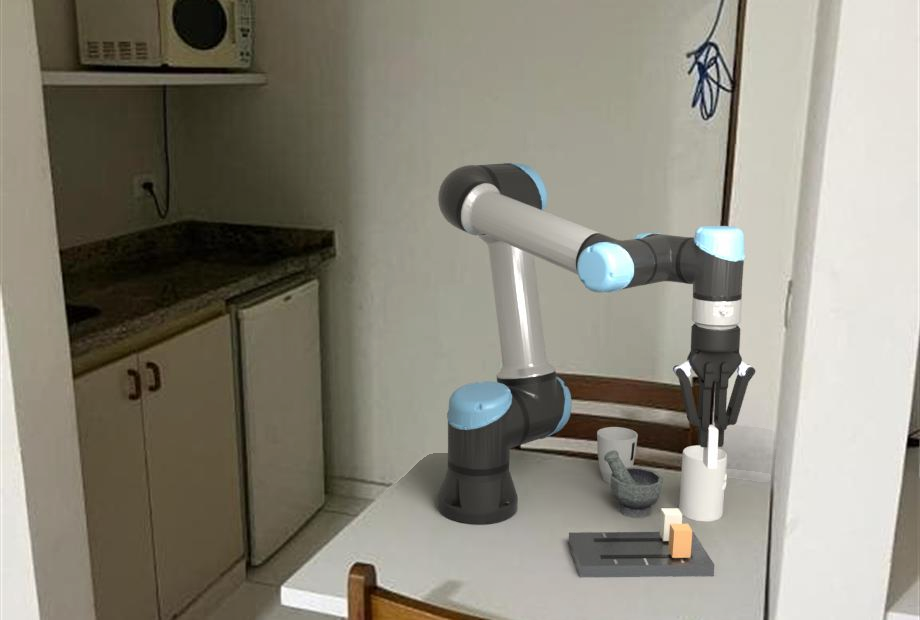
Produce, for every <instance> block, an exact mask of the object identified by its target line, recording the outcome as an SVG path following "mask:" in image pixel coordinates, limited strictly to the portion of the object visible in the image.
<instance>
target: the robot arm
mask: <svg viewBox="0 0 920 620" xmlns="http://www.w3.org/2000/svg"><path fill="white" fill-rule="evenodd" d="M437 198H438V199H437V200H438V201H437V202H438V206H439V207H438V208H439V209H440V212H441V214H442V216H443V218H444V220H446V221H447V222H448V223H449V224H450V225H451V226H453V227H454V228H457V229H459V230H460V231H462V232H465V233H468V234H469V235H472V236H478V238H479V239H481V240H482V241H483V242H485V244H486V245H487V247H488V255H489V261H490V262H489V263H490V271H491V278H492V280H491V281H492V289H493V295H494V303H495V311H496V318H497V327H498V334H499V335H498V336H499V342H500V344H499V345H500V351H501V359H502V361H501V362H502V367H501V368H500V370H499V371H498V372H497V374H496V381H486V380H485V381H482V382H478V381H475V382H472V383H467V384H464V385H462V386H460V387H459V388H457V389H455V390H454V391H453V392H452V393H451V395H450V397H449V400H448V410H447V415H446V417H447V470H446V473H445V476H444V479H443V481H442V484H441V487H440V489H439V492H438V496H437V497H438V499H437V505H438V507H437V509H438V511H439V512H440V513H441V515H443V516H444V517H446V518H448V519H450V520H452V521H455V522H459V523H465V524H471V525H485V524H486V525H487V524H494V523H496V524H497V523H499V522H503V521H506V520H508V519H510V518H512V517H513V516H515V514H516V513H517V512H518V508H519V507H518V506H519V503H518V501H519V498H518V493H517V490H516V486H515V482H514V481H513V477H512V474H511V471H510V455H511V453H510V452H511V449H512V448H515V447H518V446H521V445H522V446H523V445H525V444H528V443H531V442H533V441H537V440H544V439H546V438H549V437H550V436H551V435H554V434H556V433H558V432H560V431H561V430H562V429H564V427H565V426H566V425H567V423H568V421H569V419H570V417H571V414H572V406H573V405H572V404H573V403H572V396H571V392H570V389H569V387H568V386H565V382H564V380H562V378H560V377H559V376H557V373H556V372H557V371H556V367H554V366H553V365H552V364H550V363H549V362H548V361H547V356H546V353H547V352H546V347H545V346H546V345H545V338H544V330H543V319H542V314H541V306H540V305H541V304H540V295H539V287H538V281H537V272H536V271H537V269H536V262H535V257H536V258H539V259H542V260H544V261H545V262H548V263H551V264H552V265H555V266H557V267H560V268H562V269H564V270H566V271H569V272H571V273H573V274H575V275H578V278H579V280H580V282H581V283H582V284H583V285H584V286H585V288H586V289H588V290H589V291H590V292H593V293H614V292H619V291H621V290H625V289H630V288H631V289H632V288H635V287H640V286H646V285H651V284H656V283H657V284H658V283H663V282H669V283H670V282H672V283H681V284H686V285H687V284H688V285H692V305H691V306H692V307H691V321H692V322H693V324H692V325H691V329H690V330H691V332H690V333H691V334H690V351H689V353H688V355H687V357H686V361H685V362H683V363H682V364H680V365H674V366H673V368H672V371H673V372H674V374H675V375H676V377H677V379H678V381H679V385H680V386H679V387H680V391H681V395H682V399H683V400H682V401H683V404H684V405H683V406H684V410H685V415H686V419H687V421H689V423H690V425H692V426H694V427H695V426H696V427H698V432H697V433H698V434H697V435H698V437H697V442H698V445H700V446H701V447H704V449H703V463H704V465H705V466H706V467H707V468H717V451H718V449H719V448H723V446H724V443H725V442H724V440H725V439H724V438H725V431H726V430H727V428H728V426H734V425H737V422H738V418H739V416H740V413H741V409H742V405H743V402H744V399H745V395H746V392H747V389H748V385H749V383H750V381H751V380H752V378H753V377H754V375H755V374H756V369H755V368H754V367H752V365H750V364H748V363H745V362H744V361H743V357H742V355H741V354H740V347H741V327H740V326H739V325H740V323H741V322H742V301H743V300H742V298H743V296H742V295H743V292H742V291H743V278H744V263H745V259H746V255H745V234H744V231H743V230H742V229H741V228H739V227H736V226H730V225H728V226H727V225H703V226H699V227H697V228H696V229H695V233H694V237H692V236H690V237H689V236H688V237H687V236H681V235H680V236H679V235H671V234H662V233H659V232H655V233H640V234H637V235H636V236H634V238H633V239H632V238H631V239H625V240H621V239H617V238H614V237H610V236H608V235H606V234H603V233H601V232H599V231H596V230H594V229H591V228H589V227H586V226H583V225H581V224H578V223H576V222H573V221H570V220H568V219H565V218H563V217H560V216H557V215H555V214H553V213H550V212H547V211H544V210H545V209H546V208H547V204H548V191H547V188H546V185H545V182H544V181H543V178H542V177H541V176H540V175H539V173H538V172H537V171H535V170H534V168H532V167H531V166H529V165H526V164H523V163H512V162H504V163H493V164H492V163H491V164H469V165H468V164H467V165H462V166H460V167H458V168H456V169H454V170H452V171H451V172H450V173H449V174H447V176H446V177H444V179H443V181H442V183H441V185H440V186H439V190H438V196H437ZM691 369H692V370H693V372H694V374H695V375H696V376H697V378H698V385H699V387H698V388H699V390H698V393H699V394H698V409H697V408H696V402H695V397H694V394H693V388H692V383H691V380H690V378H689V377H690V376H691ZM735 372H737V373H736V374H737V376H736V378H735V381H734V384H733V388H732V391H731V395H730V397H729V401H727V399H728V398H727V395H728V388H729V379H730V378H732V376H733V374H734V373H735ZM713 382H714V406H713V423H714V424H711V423H710V422H711V420H710V419H711V401H712V399H711V398H712V388H713ZM727 402H728V405H727ZM697 410H698V412H697Z"/></svg>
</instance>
